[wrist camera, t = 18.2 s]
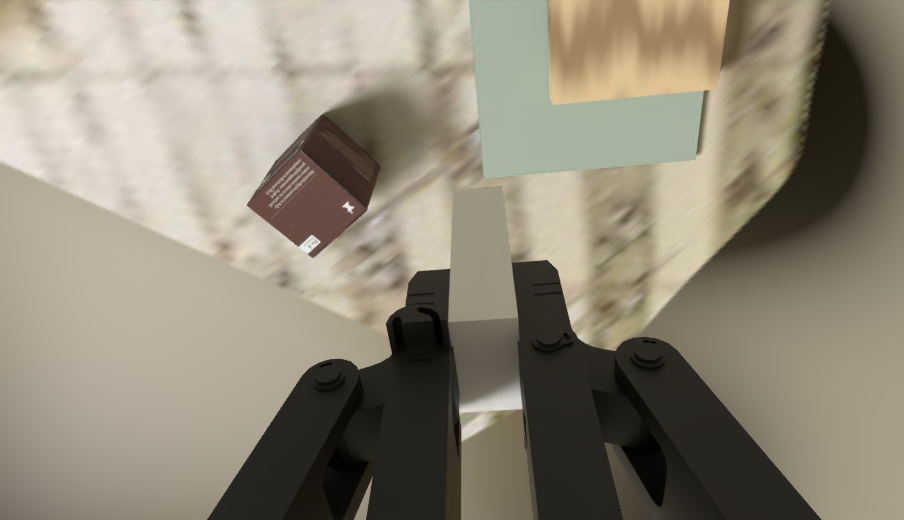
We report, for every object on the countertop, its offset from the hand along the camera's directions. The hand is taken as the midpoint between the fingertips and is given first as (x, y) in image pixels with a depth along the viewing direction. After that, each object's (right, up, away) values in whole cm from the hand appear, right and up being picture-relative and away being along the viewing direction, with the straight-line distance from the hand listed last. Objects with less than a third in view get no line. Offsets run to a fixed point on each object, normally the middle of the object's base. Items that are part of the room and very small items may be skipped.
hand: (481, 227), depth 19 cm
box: (-11, +7, +28) cm, 30 cm away
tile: (+6, +13, +21) cm, 25 cm away
